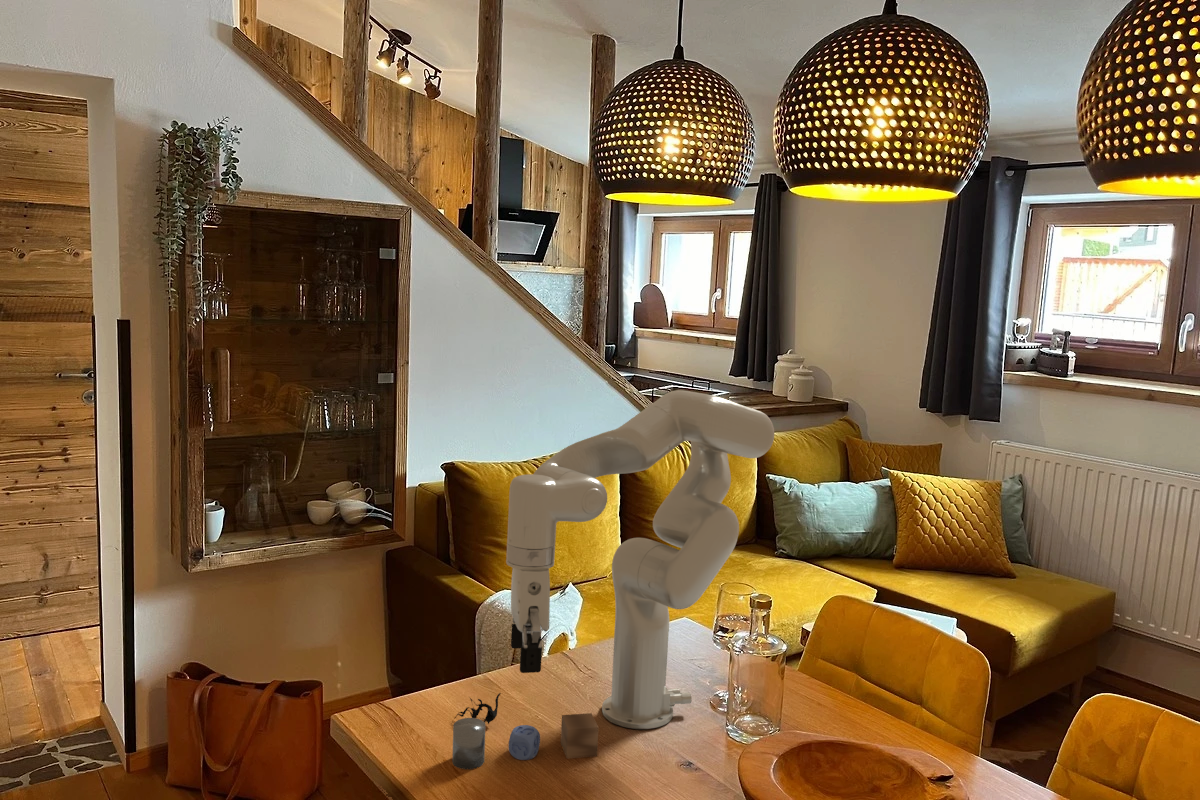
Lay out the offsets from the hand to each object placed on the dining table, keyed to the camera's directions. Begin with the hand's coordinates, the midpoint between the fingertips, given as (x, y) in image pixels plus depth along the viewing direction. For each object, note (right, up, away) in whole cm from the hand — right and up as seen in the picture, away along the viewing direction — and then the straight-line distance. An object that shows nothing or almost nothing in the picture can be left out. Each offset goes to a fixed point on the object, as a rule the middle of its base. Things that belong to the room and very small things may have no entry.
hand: (525, 659), depth 149 cm
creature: (-10, -15, +12) cm, 21 cm away
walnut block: (+8, -16, +4) cm, 19 cm away
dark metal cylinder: (-9, -16, -1) cm, 18 cm away
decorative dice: (0, -16, +2) cm, 16 cm away
